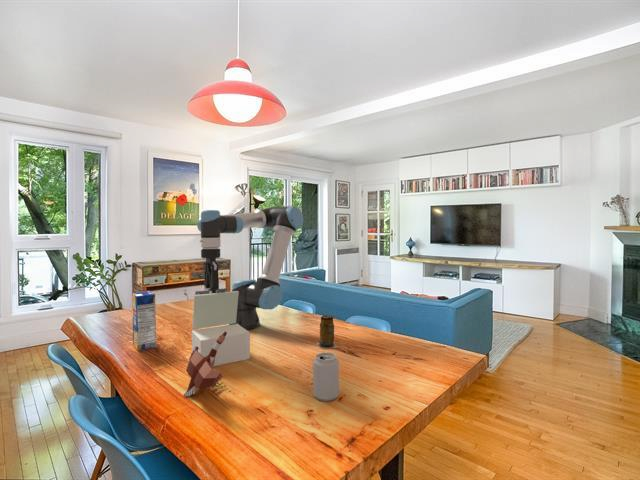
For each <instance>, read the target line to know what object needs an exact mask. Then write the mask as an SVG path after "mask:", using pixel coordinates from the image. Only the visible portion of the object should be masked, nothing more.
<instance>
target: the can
mask: <svg viewBox="0 0 640 480" xmlns="http://www.w3.org/2000/svg"><path fill="white" fill-rule="evenodd" d="M337 357H338V356H337V354H335V353H332V352H321V353H320V352H319V353H317V354H315V358H314V359H313V362H312V364H313V365H312V367H313V368H312V369H313V370H312V371H313V372H312V375H313V377H312V378H313V379H312V380H313V382H312V386H313V387H312V390H313V391H312V392H313V393H312V394H313V396H314V397H315V398H316V399H317V400H319V401H322V402H331V401H333V400H335V399H336V398H338V396H339V394H340V391H339V389H340V386H339V385H340V384H339V383H340V379H339V378H340V376H339V375H340V372H339V371H340V364H339V362H340V361H339V360H338V358H337Z"/></svg>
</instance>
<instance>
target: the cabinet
mask: <svg viewBox="0 0 640 480" xmlns="http://www.w3.org/2000/svg"><path fill="white" fill-rule="evenodd" d="M224 332H227V334H226V336H225V340H224V341H223V343H222V344H221V345H220V346H219V348H218V350H217V353H216V356H215V364H214V367H215V366H221V365H225V364H231V363H236V362H241V361H245V360H250V359H251V332H250V331H249V330H248V329H244V328H243V327H241V326H240V325H238V324H233V325H229V324H226V325H220V326H213V327H206V328H199V329H192V330H191V353H193V351H195V350H194V348H195V347H196V346H197V347H199V349H198V352H199V353H200V354H201V355H202V356H203V357H206V356H208V355H209V353H210V351H211V349H212V347H213V346H214V344H215V343H216V341H217V339H218V338H219V336H221V335H222V334H223V333H224Z"/></svg>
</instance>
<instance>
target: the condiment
mask: <svg viewBox="0 0 640 480" xmlns="http://www.w3.org/2000/svg"><path fill="white" fill-rule="evenodd" d="M316 345H317V346H319V347H320V348H321V349H323V350H328V349H336V348H339V345H337V344H336V343H335V323H334V317H333V316H332V315H327V314H326V315H322V316H320V323H319V341H318V342H316Z"/></svg>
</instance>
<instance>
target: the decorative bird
mask: <svg viewBox="0 0 640 480" xmlns="http://www.w3.org/2000/svg"><path fill="white" fill-rule="evenodd" d="M226 334H227V332H224V333H223V334H222V335H221V336H219V338H218V339H217V341H216V343H215V344H214V346H213V347H212V349H211V351H210V353H209V355H208V356H206V357H203V356H202V355H201V354H200V353H199V352H198V349H199V347H197V346H196V347H195V348H194V350H195V351H193V353H192V352H191V353H190V357H189V362H188V363H187V366H186V369H185V370H186V373H187V375H188V376H189V377H190V381H189V384H188V386H187V387H186V390H185V392H184V394H183V396H184V398H187V397H189V398H190V397H191V396H193V395H195V394H196V389H198V390H205V389H209V388H210V390H211V391H213V389H214V388H220V389H219V390H222V389H224V388H226V387H227V385H226V384H224V383H225V382H224V381H221V379H222V378H223V374H222V372H221V371H218V370H215V369H214V367H215V366H214V364H215V356H216V353H217V350H218V348H219V346H220V345H221V344H222V343H223V341H224V340H225V336H226ZM219 381H221V382H219ZM221 385H222V386H221Z"/></svg>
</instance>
